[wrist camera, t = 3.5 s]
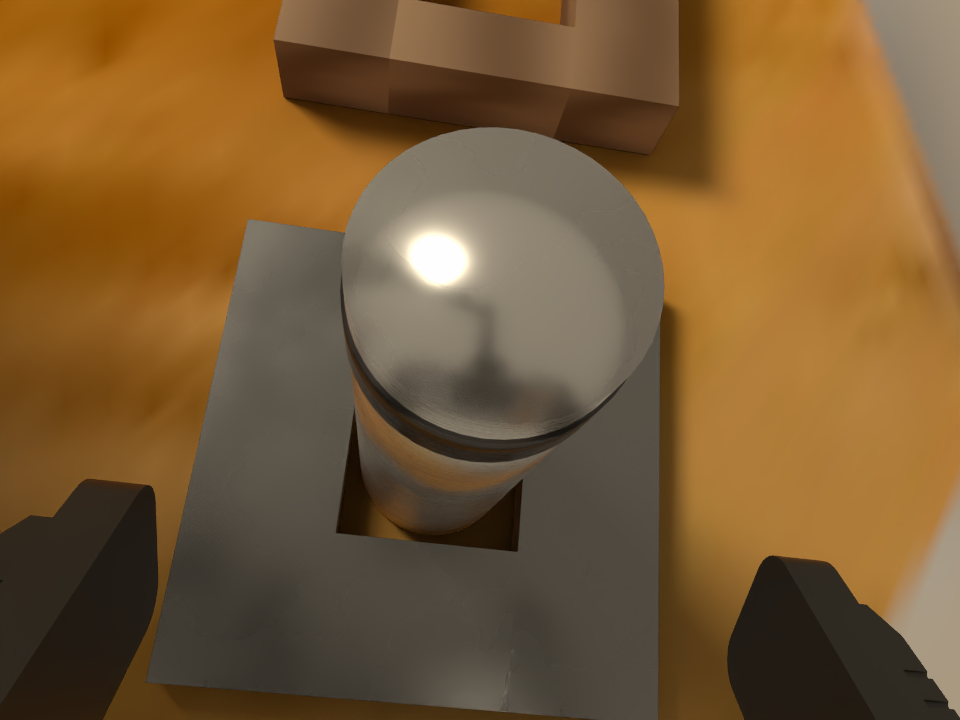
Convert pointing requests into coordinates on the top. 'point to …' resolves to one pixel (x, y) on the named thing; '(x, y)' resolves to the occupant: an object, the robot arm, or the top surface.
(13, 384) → the top surface
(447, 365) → the grey metal cylinder
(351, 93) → the rack
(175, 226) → the top surface
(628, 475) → the socket plate
